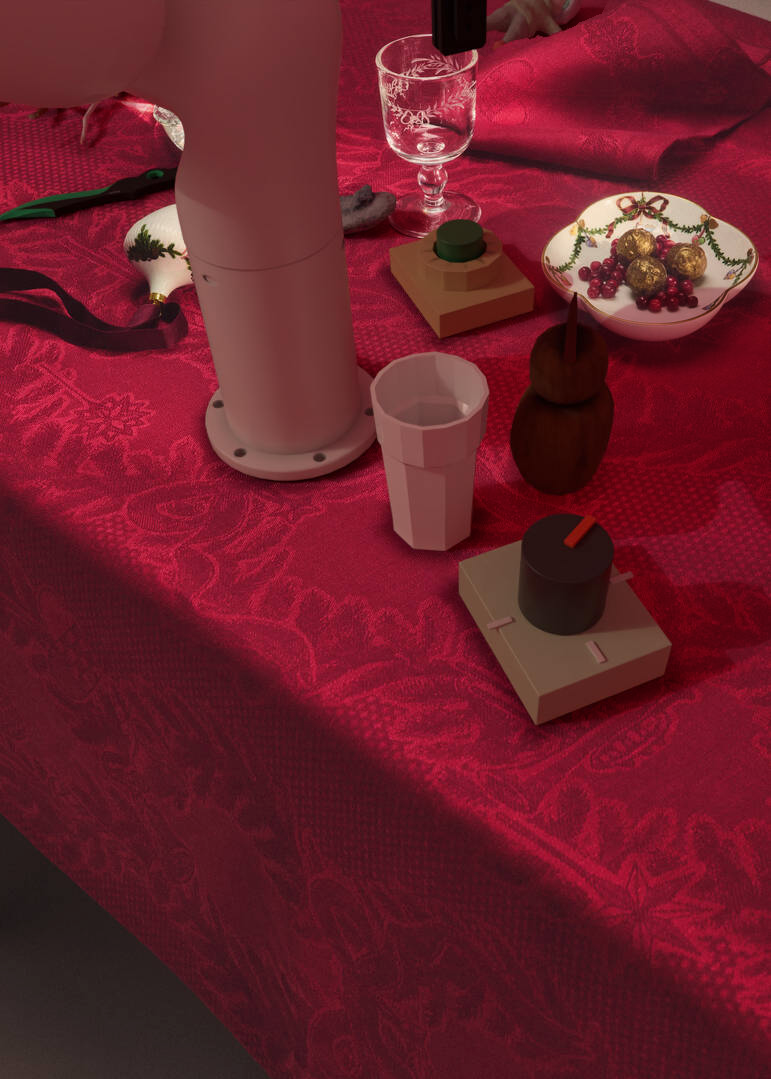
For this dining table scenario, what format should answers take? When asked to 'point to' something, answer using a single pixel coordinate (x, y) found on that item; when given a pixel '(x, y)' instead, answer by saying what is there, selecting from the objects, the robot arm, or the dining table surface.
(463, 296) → the button box
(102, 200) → the knife
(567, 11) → the toy
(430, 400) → the cup
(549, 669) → the dial panel
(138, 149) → the dining table surface
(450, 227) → the button
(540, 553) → the dial
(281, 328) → the robot arm
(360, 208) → the fossil
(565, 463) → the wooden figurine
